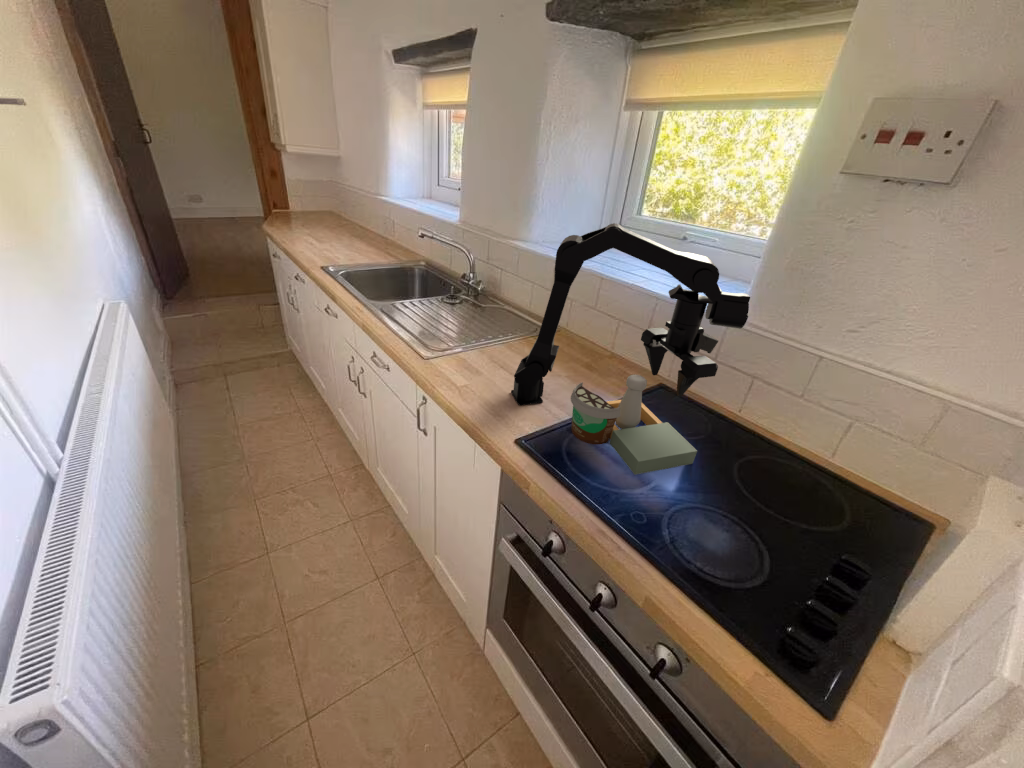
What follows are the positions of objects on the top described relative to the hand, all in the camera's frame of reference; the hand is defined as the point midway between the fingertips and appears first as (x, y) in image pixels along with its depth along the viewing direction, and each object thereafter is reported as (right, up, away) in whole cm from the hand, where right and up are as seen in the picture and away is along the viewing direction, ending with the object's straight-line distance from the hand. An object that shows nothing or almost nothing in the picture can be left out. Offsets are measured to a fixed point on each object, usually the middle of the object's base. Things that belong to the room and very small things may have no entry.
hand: (666, 384), depth 92 cm
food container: (-19, -11, -1) cm, 22 cm away
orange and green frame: (-7, -12, -1) cm, 14 cm away
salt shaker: (-8, -10, +3) cm, 13 cm away
